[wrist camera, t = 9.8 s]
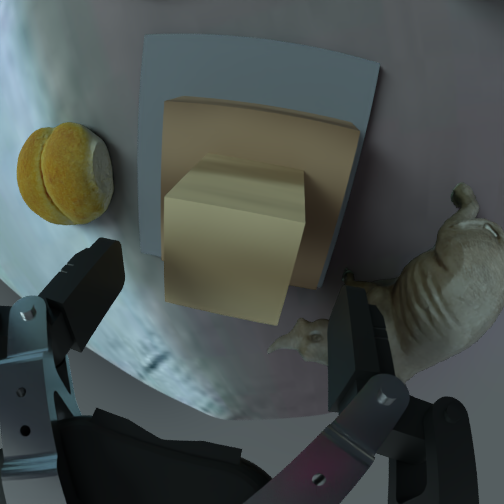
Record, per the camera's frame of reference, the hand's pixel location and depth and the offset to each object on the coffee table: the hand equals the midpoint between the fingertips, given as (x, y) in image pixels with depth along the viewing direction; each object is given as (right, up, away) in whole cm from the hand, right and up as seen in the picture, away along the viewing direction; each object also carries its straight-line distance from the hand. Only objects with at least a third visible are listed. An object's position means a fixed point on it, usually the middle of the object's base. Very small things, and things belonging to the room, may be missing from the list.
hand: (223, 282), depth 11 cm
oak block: (+1, +4, +6) cm, 7 cm away
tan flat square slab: (+1, +5, +9) cm, 10 cm away
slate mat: (0, +7, +9) cm, 11 cm away
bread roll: (-13, +8, +11) cm, 19 cm away
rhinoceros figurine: (+11, 0, +11) cm, 16 cm away
